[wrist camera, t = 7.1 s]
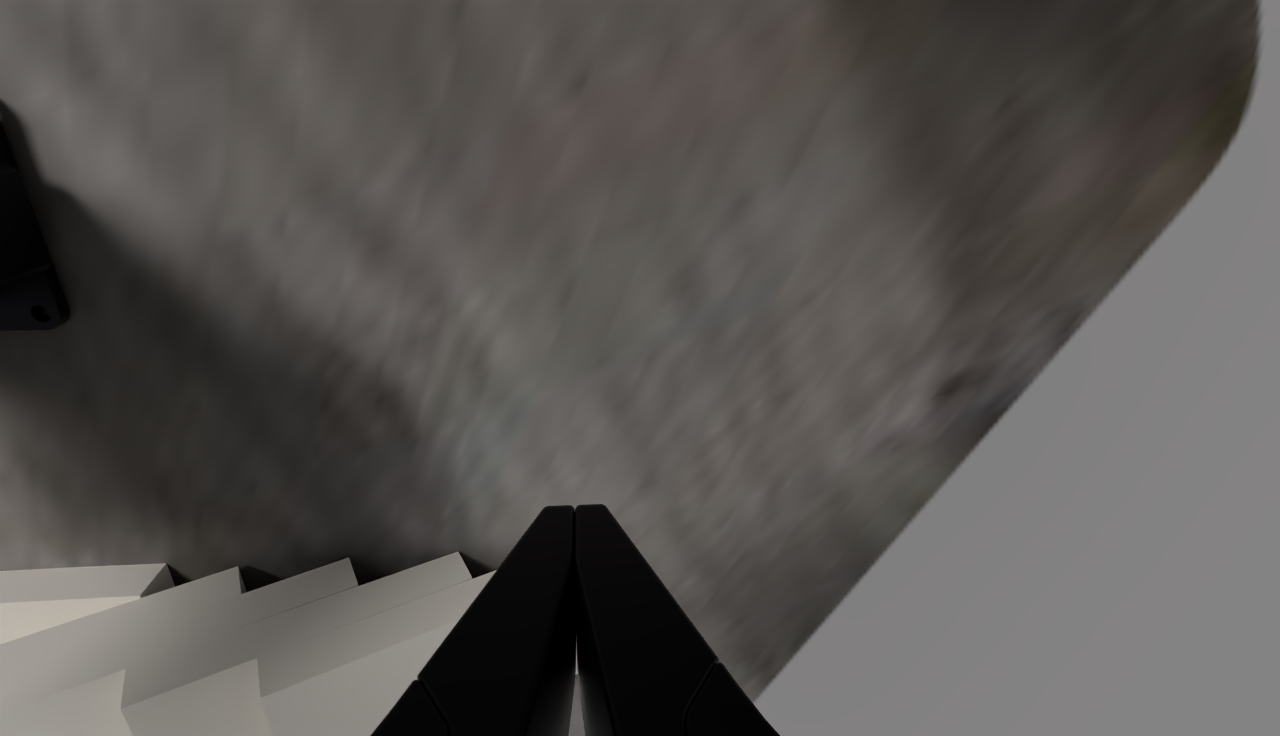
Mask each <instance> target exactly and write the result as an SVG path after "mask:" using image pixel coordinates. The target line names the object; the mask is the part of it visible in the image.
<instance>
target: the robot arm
mask: <svg viewBox="0 0 1280 736" xmlns="http://www.w3.org/2000/svg"><path fill="white" fill-rule="evenodd" d="M41 306H43V307H45V308H46V309H48V311H49V312H50V314H51V317H50V316H48V315H46V314H45V313H44V312H43V310H42V309H41ZM69 317H70V309H69V306H68V303H67V301H66V298H65V295H64V292H63V290H62V287H61V284H60V282H59V279H58V276H57V274H56V271H55V268H54V265H53V263H52V260H51V257H50V254H49V252H48V249H47V246H46V244H45V241H44V238H43V235H42V233H41V230H40V227H39V225H38V222H37V219H36V216H35V214H34V211H33V208H32V206H31V203H30V200H29V198H28V195H27V192H26V189H25V187H24V184H23V181H22V179H21V176H20V174H19V171H18V168H17V165H16V163H15V160H14V157H13V155H12V152H11V149H10V147H9V144H8V141H7V138H6V136H5V133H4V130H3V128H2V125H1V122H0V330H49V329H54V328H56V327H58V326H60V325H62V324H64V323H65V322H67V321H68V320H69ZM576 642H577V670H578V681H579V690H580V698H581V705H582V713H583V721H584V729H585V736H780V735H779V734H778V733H777V732H776V731H775V730H774V729H773V727H772V726H771V725H770V724H769V723H768V722H767V721H766V720H765V718H764V717H763V716H762V715H761V713H760V712H759V711H758V709H757V708H756V707H755V706H754V704H753V703H752V702H751V701H750V699H749V698H748V697H747V696H746V694H745V693H744V692H743V690H742V689H741V688H740V687H739V685H738V684H737V683H736V681H735V680H734V679H733V677H732V676H731V674H730V673H729V672H728V670H727V669H726V668H725V666H724V665H723V664H722V663H720V662H719V659H718V657H717V656H716V655H715V653H714V652H713V651H712V649H711V648H710V646H709V645H708V644H707V642H706V641H705V640H704V638H703V637H702V636H701V634H700V633H699V632H698V630H697V629H696V628H695V626H694V625H693V623H692V622H691V621H690V619H689V618H688V617H687V615H686V614H685V613H684V611H683V610H682V609H681V607H680V606H679V605H678V603H677V602H676V600H675V599H674V598H673V596H672V595H671V594H670V592H669V591H668V590H667V588H666V587H665V586H664V584H663V583H662V582H661V580H660V579H659V577H658V576H657V575H656V573H655V572H654V571H653V569H652V568H651V567H650V565H649V564H648V563H647V561H646V560H645V559H644V557H643V556H642V554H641V553H640V552H639V550H638V549H637V548H636V546H635V545H634V544H633V542H632V541H631V540H630V538H629V537H628V536H627V534H626V533H625V531H624V530H623V529H622V527H621V526H620V525H619V523H618V522H617V521H616V519H615V518H614V517H613V515H612V514H611V513H610V511H609V510H608V509H607V507H606V506H605V505H603V504H592V505H578V506H577V507H576V509H575V510H574V508H573V507H572V506H570V505H564V506H546V507H545V508H543V510H542V511H541V512H540V514H539V515H538V516H537V518H536V519H535V520H534V522H533V523H532V524H531V526H530V527H529V528H528V529H527V531H526V532H525V533H524V535H523V536H522V537H521V539H520V540H519V541H518V543H517V544H516V545H515V547H514V548H513V549H512V551H511V552H510V553H509V555H508V556H507V557H506V559H505V560H504V561H503V563H502V564H501V565H500V567H499V568H498V569H497V571H496V572H495V573H494V575H493V576H492V577H491V579H490V580H489V581H488V583H487V584H486V585H485V587H484V588H483V589H482V590H481V592H480V593H479V594H478V596H477V597H476V598H475V600H474V601H473V602H472V604H471V605H470V606H469V608H468V609H467V610H466V612H465V613H464V614H463V616H462V617H461V618H460V620H459V621H458V622H457V624H456V625H455V626H454V628H453V629H452V630H451V632H450V633H449V634H448V636H447V637H446V638H445V640H444V641H443V642H442V643H441V645H440V646H439V647H438V649H437V650H436V651H435V653H434V654H433V655H432V657H431V658H430V659H429V661H428V662H427V663H426V665H425V666H424V667H423V669H422V670H421V671H420V673H419V674H418V676H417V680H414V681H412V683H411V684H410V685H409V687H408V688H407V689H406V691H405V692H404V693H403V695H402V696H401V697H400V699H399V700H398V701H397V703H396V704H395V705H394V707H393V708H392V709H391V710H390V712H389V713H388V714H387V715H386V717H385V718H384V719H383V720H382V722H381V723H380V724H379V725H378V727H377V728H376V729H375V730H374V732H373V733H372V734H371V735H370V736H568V734H569V726H570V718H571V710H572V701H573V693H574V684H575V673H576Z"/></svg>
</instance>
